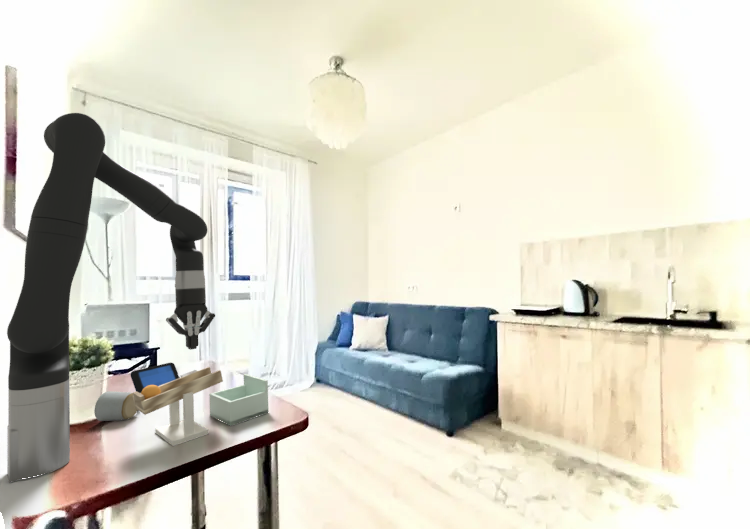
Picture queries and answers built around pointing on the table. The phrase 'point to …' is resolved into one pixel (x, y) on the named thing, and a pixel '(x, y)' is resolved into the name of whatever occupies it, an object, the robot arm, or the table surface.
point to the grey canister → (115, 406)
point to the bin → (240, 401)
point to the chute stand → (181, 423)
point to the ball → (150, 391)
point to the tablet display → (154, 376)
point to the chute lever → (177, 389)
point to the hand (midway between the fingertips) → (192, 348)
